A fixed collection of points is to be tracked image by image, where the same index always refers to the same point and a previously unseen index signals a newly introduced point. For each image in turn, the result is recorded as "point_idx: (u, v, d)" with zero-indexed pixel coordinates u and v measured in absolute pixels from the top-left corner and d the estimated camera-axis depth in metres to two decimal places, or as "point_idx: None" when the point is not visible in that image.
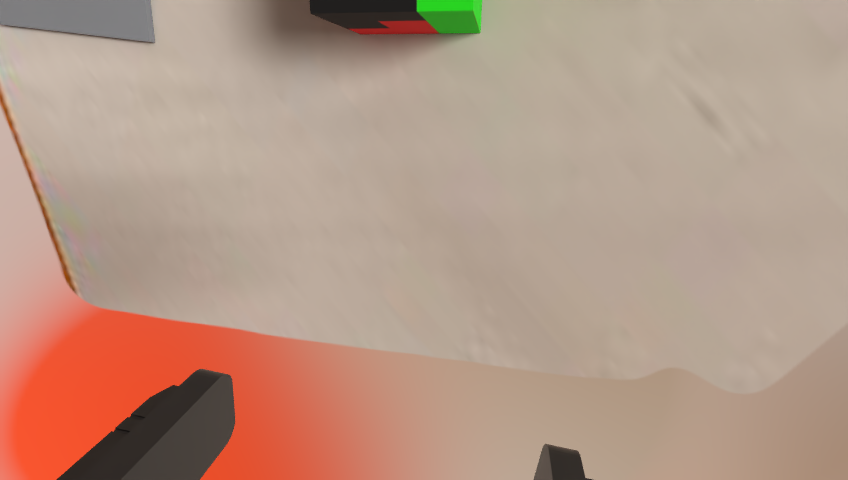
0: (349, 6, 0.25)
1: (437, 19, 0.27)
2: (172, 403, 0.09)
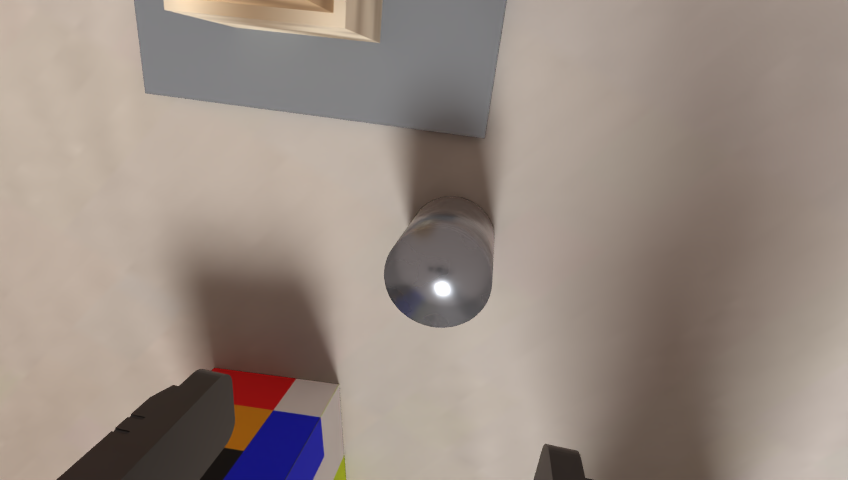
0: None
1: None
2: (172, 403, 0.09)
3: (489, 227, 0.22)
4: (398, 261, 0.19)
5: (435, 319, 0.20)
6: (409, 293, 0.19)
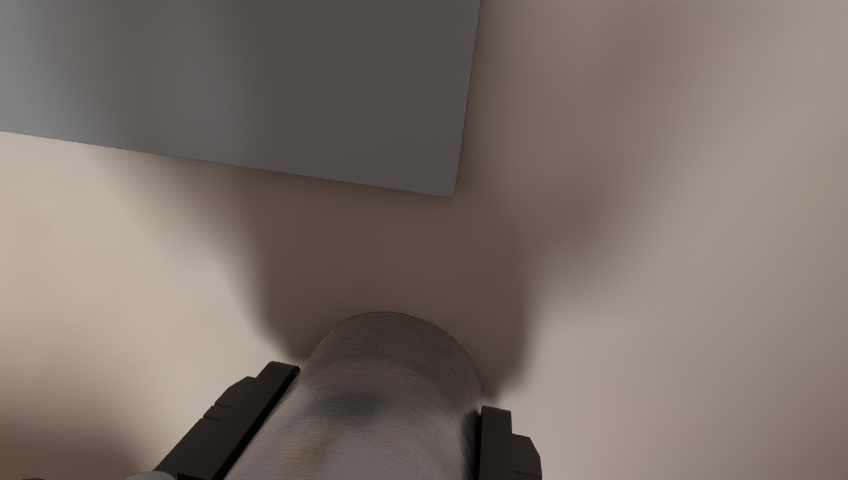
0: None
1: None
2: (254, 392, 0.10)
3: (468, 396, 0.10)
4: None
5: None
6: None
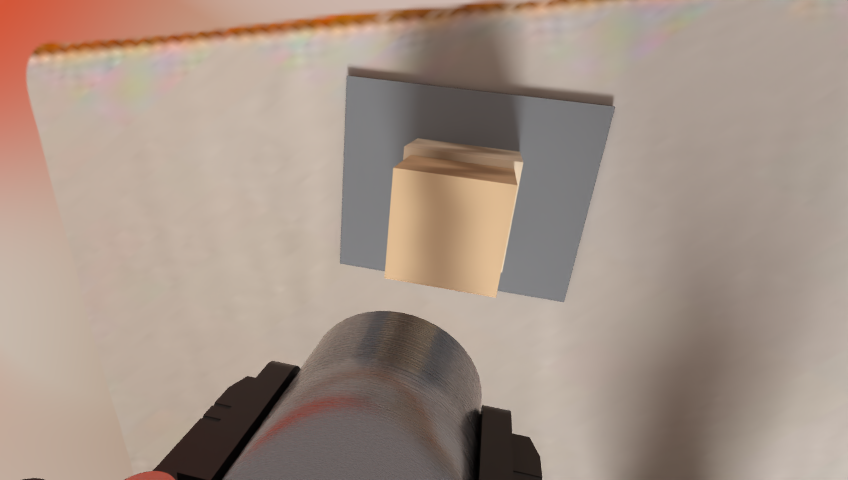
0: None
1: None
2: (254, 392, 0.10)
3: (468, 395, 0.10)
4: None
5: None
6: None
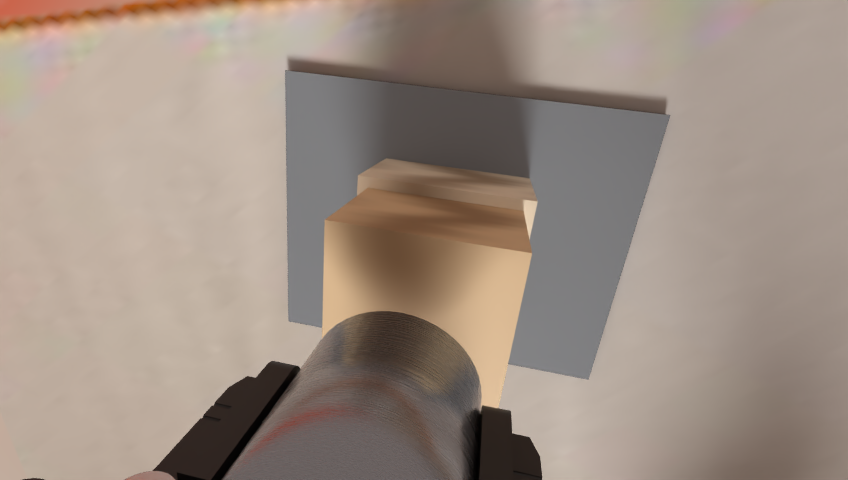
0: None
1: None
2: (254, 392, 0.10)
3: (468, 395, 0.10)
4: None
5: None
6: None
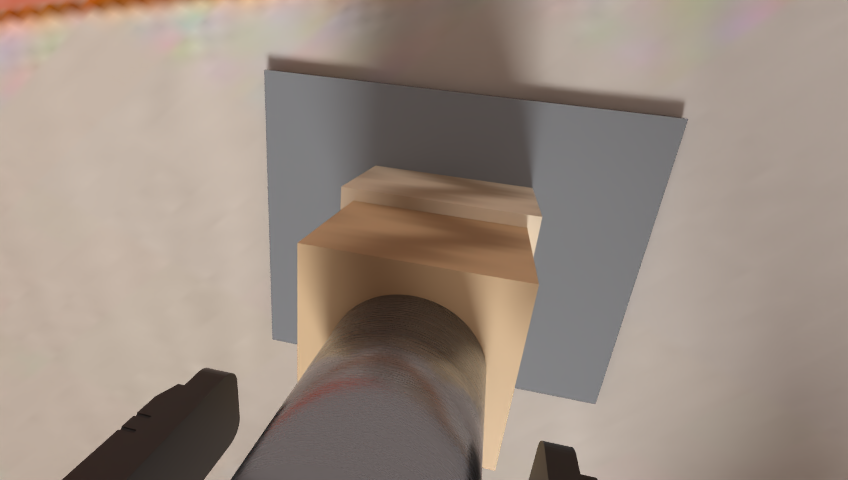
0: None
1: None
2: (178, 402, 0.09)
3: (475, 369, 0.11)
4: None
5: None
6: None
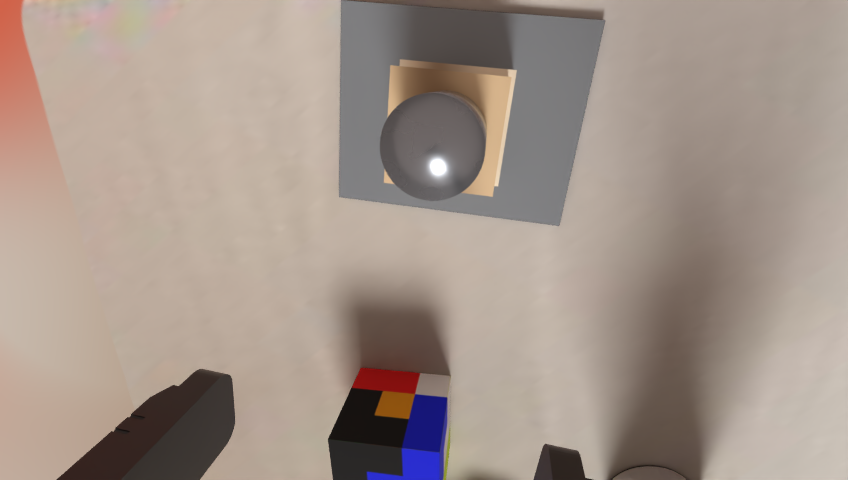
0: (334, 460, 0.37)
1: None
2: (172, 403, 0.09)
3: (481, 115, 0.23)
4: (393, 131, 0.19)
5: (431, 192, 0.20)
6: (405, 166, 0.20)
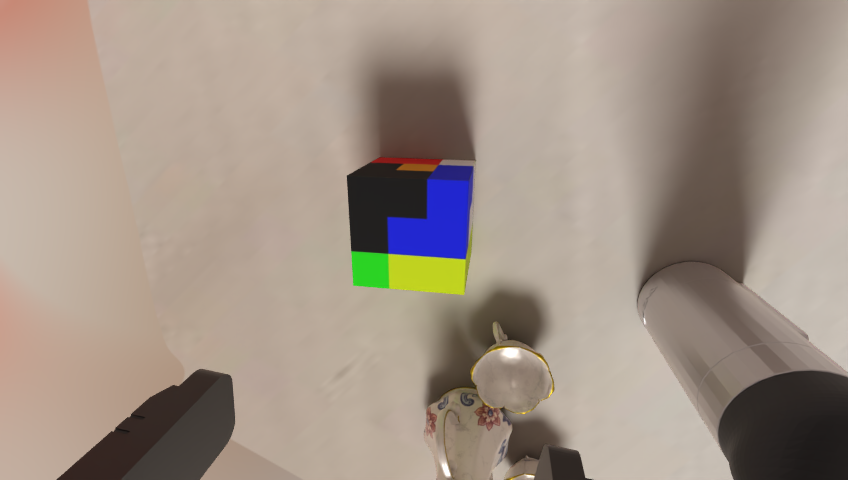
0: (352, 205, 0.35)
1: None
2: (172, 403, 0.09)
3: None
4: None
5: None
6: None
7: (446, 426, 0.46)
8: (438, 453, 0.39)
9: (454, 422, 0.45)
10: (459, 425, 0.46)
